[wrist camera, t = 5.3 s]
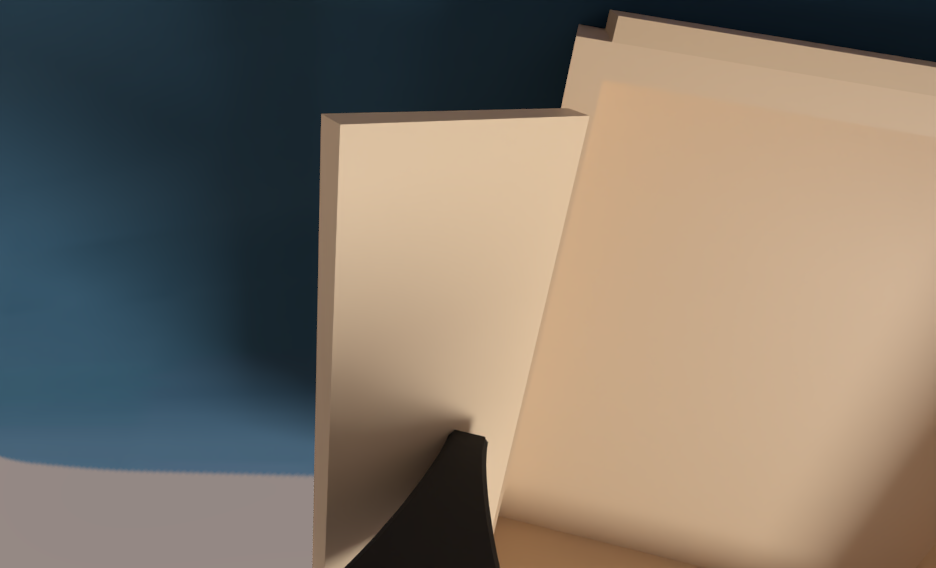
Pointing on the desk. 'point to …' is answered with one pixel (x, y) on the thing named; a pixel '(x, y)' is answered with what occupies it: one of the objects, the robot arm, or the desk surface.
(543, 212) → the carton flap
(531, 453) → the carton
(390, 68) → the desk surface
